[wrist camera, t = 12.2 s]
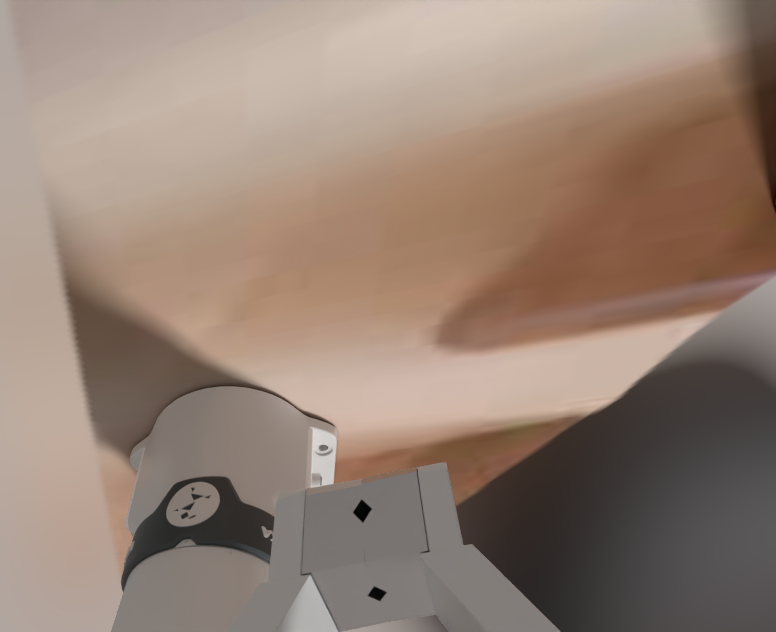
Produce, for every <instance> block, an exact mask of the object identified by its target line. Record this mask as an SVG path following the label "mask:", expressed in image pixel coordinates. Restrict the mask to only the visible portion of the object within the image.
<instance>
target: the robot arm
mask: <svg viewBox="0 0 776 632" xmlns="http://www.w3.org/2000/svg"><path fill="white" fill-rule="evenodd" d="M337 436H338V433H337V429H336V428H335V427H334V426H332V425H330V424H328V423H326V422H323V421H320V420H317V419H313V418H310V417H308V416H306V415H304V414H303V413H301V412H300V411H298V410H297V409H296V408H294V407H293V406H292V405H290V404H289V403H287V402H286V401H284V400H282V399H280V398H278V397H276V396H274V395H272V394H269V393H266V392H263V391H260V390H256V389H251V388H245V387H234V386H222V387H212V388H206V389H201V390H198V391H194V392H191V393H189V394H186V395H184V396H182V397H180V398H178V399H177V400H175V401H174V402H172V403H171V404H170V405H168V406H167V407H166V408H165V409H164V410H163V411H162V413H161V414H160V415H159V417H158V419H157V420H156V423H155V425H154V427H153V430H152V432H151V433H150V435H149V436H148V437H147V438H145V439H144V440H142V441H141V442H140V443H138V444H137V445H136V446H135V447H134V448H133V449H132V451H131V455H130V460H129V462H130V464H131V466H132V467H133V468H134V469H135V471H136V472H137V477H136V481H135V485H134V489H133V493H132V497H131V501H130V505H129V509H128V514H127V518H126V528H127V529H128V530H130V532H131V534H132V536H133V540H132V543H131V546H130V547H129V549H128V551H127V555H126V558H125V562H124V571H123V575H122V580H121V586H122V590H123V595H122V599H121V602H120V605H119V609H118V611H117V615H116V618H115V621H114V624H113V627H112V631H111V632H342V631H346V630H351V629H356V628H360V627H365V626H370V625H375V624H380V623H384V622H390V621H396V620H403V619H409V618H416V617H423V616H429V615H436V614H437V617H438V618H439V619H440V621H441V622H442V623H443V625H444V626H445V627H446V629H447V630H448V631H449V632H560V631H559V630H558V629H557V628H556V627H555V626H554V625H553V624H552V623H551V622H550V621H549V620H548V619H547V618H546V617H545V616H544V615H543V614H542V613H541V612H540V611H539V610H538V609H537V608H536V607H535V606H534V605H533V604H532V603H531V602H530V601H529V600H528V599H527V598H526V597H525V596H524V595H523V594H522V593H521V592H520V591H519V590H518V589H517V588H516V587H515V586H514V585H513V584H512V583H511V582H510V581H509V580H508V579H507V578H506V577H505V576H503V574H502V573H500V571H499V570H498V569H497V568H496V567H495V566H494V565H493V564H492V563H491V562H490V561H488V560H487V559H486V558H485V557H484V556H483V555H482V554H481V553H480V552H479V551H478V550H477V549H476V548H475V547H474V546H473V545H472V544H471V545H464V546H463V541H462V536H461V532H460V527H459V522H458V518H457V512H456V507H455V502H454V498H453V493H452V488H451V483H450V478H449V473H448V468H447V465H446V462H443V463H437V464H432V465H427V466H422V467H414V468H409V469H404V470H399V471H394V472H390V473H385V474H380V475H375V476H370V477H365V478H362V479H361V480H355V481H349V482H343V483H336V484H334V474H335V461H336V449H337ZM417 468H418V469H417Z"/></svg>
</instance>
